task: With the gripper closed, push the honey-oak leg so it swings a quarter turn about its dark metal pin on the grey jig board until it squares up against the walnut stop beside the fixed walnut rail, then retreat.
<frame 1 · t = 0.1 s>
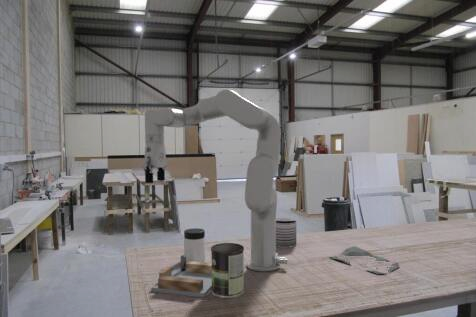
hand: (155, 181, 149), 31 cm above the workbench, fingers open, 9 cm apart
jar: (194, 260, 145), on the workbench
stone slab: (365, 264, 141), on the workbench
oak leg: (203, 267, 128), point 3 cm above the workbench, hinge at 0.0°
coffee can: (227, 292, 114), on the workbench
can: (284, 244, 168), on the workbench
fixed rail: (180, 292, 114), resting on jig board
pivot pin: (183, 273, 130), resting on jig board
jig board: (190, 282, 122), on the workbench
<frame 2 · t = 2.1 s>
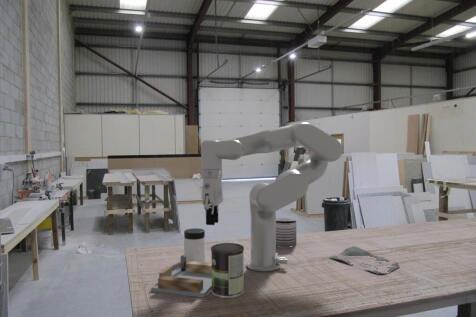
hand: (212, 223, 134), 17 cm above the workbench, fingers open, 3 cm apart
nothing on the workbench moved.
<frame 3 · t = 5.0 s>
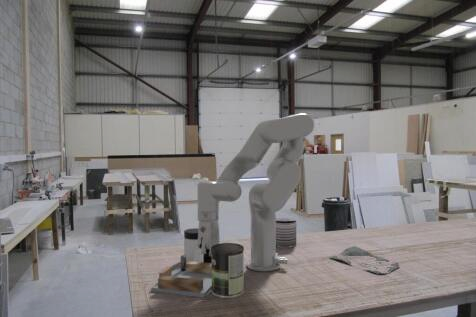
hand: (208, 266, 131), 2 cm above the workbench, fingers closed
oak leg: (203, 267, 128), point 3 cm above the workbench, hinge at 0.8°, touching gripper
everything else where it was.
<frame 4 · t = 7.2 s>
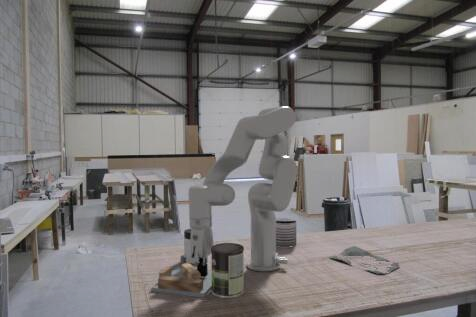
hand: (202, 275, 123), 2 cm above the workbench, fingers closed
oak leg: (190, 272, 123), point 3 cm above the workbench, hinge at 47.9°, touching gripper
everything else where it was.
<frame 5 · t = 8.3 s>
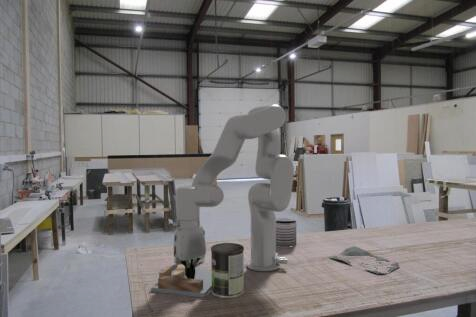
hand: (190, 277, 121), 2 cm above the workbench, fingers closed
oak leg: (180, 273, 123), point 3 cm above the workbench, hinge at 74.0°, touching gripper
everything else where it was.
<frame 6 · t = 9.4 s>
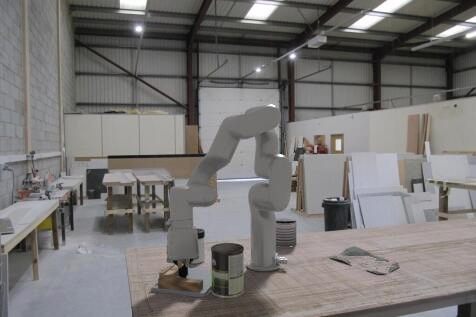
hand: (183, 278, 121), 2 cm above the workbench, fingers closed
oak leg: (175, 273, 123), point 3 cm above the workbench, hinge at 88.1°, touching gripper
everything else where it was.
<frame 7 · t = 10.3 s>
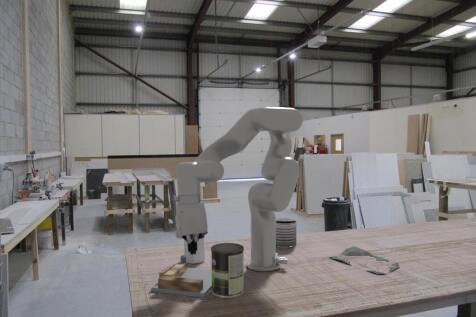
hand: (192, 253, 122), 10 cm above the workbench, fingers closed
oak leg: (175, 273, 123), point 3 cm above the workbench, hinge at 88.1°
everything else where it was.
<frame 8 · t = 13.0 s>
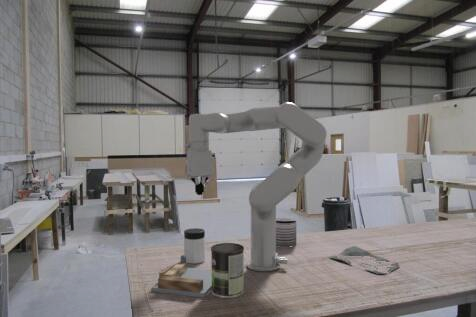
hand: (199, 194, 139), 27 cm above the workbench, fingers closed
nothing on the workbench moved.
at the end: oak leg at +88° (first picture: +0°) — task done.
